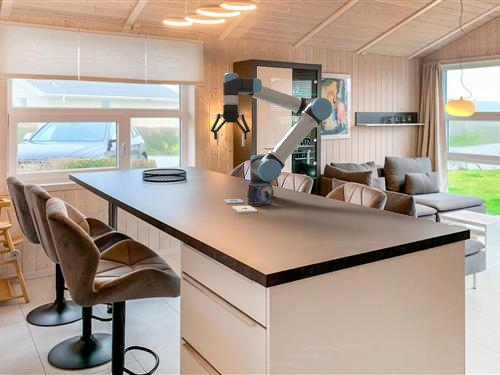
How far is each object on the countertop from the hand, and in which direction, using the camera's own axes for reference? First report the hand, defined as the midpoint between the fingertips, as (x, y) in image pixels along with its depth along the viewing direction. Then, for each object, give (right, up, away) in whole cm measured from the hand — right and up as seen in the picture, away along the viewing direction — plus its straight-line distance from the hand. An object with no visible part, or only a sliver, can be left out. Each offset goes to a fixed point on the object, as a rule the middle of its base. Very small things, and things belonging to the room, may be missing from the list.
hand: (230, 146), depth 245 cm
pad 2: (+8, -32, -21) cm, 39 cm away
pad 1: (+2, -29, +1) cm, 29 cm away
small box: (+15, -30, -7) cm, 35 cm away
